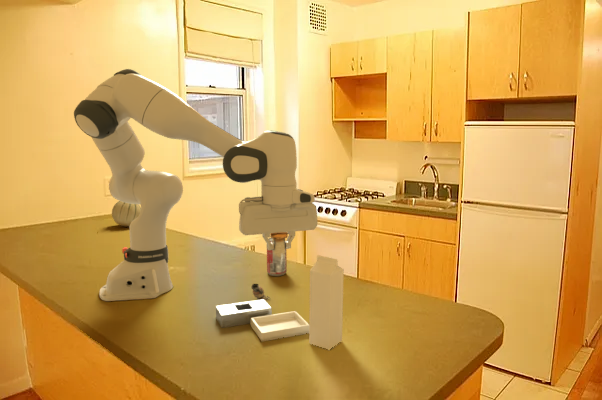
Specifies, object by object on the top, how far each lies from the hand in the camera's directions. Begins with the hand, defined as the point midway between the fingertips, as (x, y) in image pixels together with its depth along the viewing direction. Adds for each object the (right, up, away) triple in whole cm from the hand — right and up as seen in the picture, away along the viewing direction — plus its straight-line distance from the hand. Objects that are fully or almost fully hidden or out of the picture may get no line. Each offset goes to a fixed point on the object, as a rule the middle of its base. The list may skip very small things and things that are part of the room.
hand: (278, 249), depth 119 cm
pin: (0, -6, +1) cm, 6 cm away
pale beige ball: (-87, -2, +128) cm, 155 cm away
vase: (-7, -19, +24) cm, 31 cm away
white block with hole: (-10, -21, +10) cm, 25 cm away
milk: (+12, -23, -4) cm, 26 cm away
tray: (0, -22, +4) cm, 22 cm away
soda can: (-3, -15, +50) cm, 52 cm away
